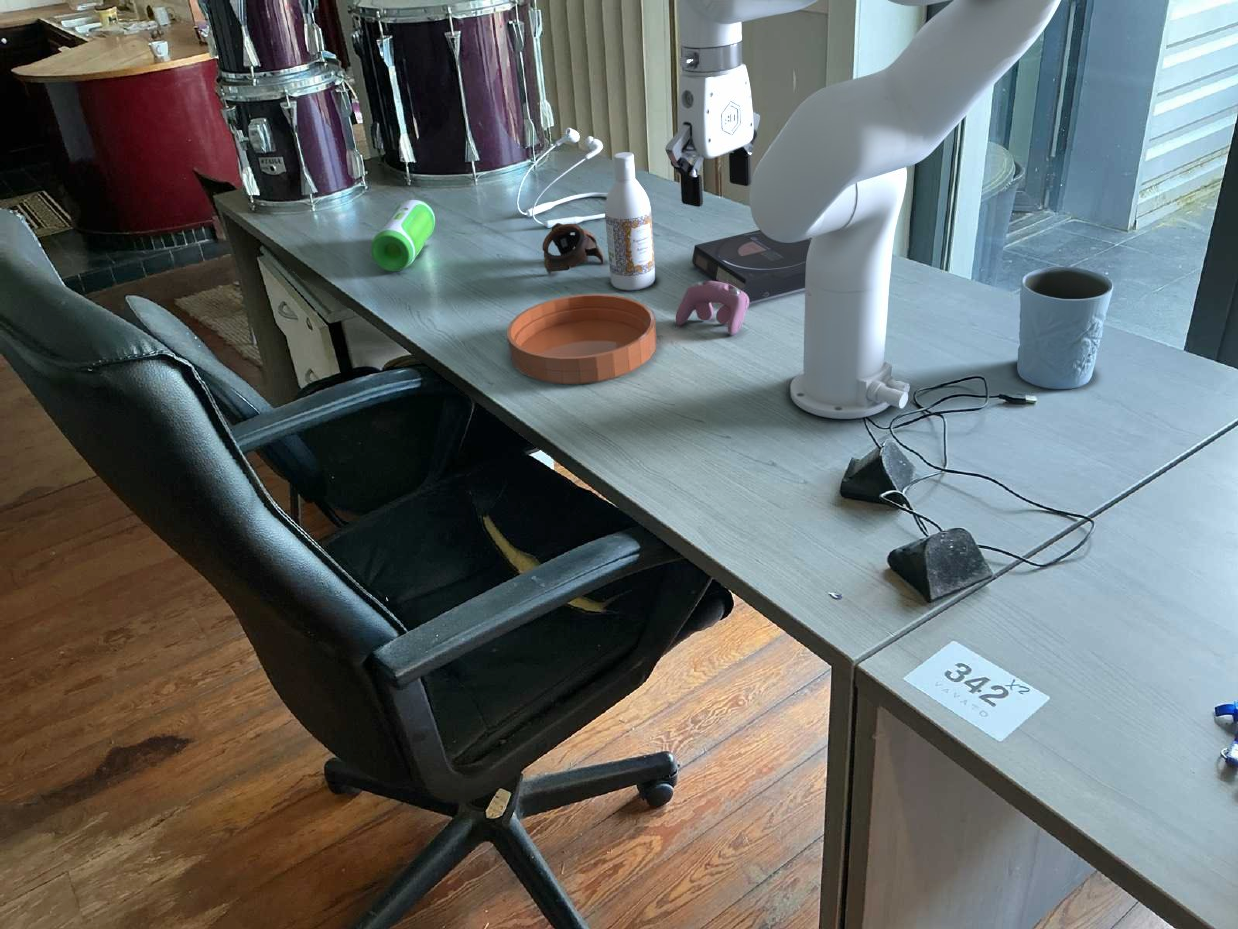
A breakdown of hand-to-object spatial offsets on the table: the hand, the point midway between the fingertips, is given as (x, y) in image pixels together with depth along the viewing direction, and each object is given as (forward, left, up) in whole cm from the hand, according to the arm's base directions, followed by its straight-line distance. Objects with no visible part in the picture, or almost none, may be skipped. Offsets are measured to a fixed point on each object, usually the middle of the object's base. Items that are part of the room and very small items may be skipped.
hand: (716, 194), depth 137 cm
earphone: (+53, -20, -19) cm, 60 cm away
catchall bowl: (+10, +18, -19) cm, 28 cm away
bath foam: (+21, -3, -19) cm, 28 cm away
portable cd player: (+6, -17, -19) cm, 26 cm away
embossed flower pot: (-42, -13, -19) cm, 48 cm away
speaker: (+62, +11, -19) cm, 66 cm away
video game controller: (+1, +1, -19) cm, 19 cm away
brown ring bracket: (+34, -3, -19) cm, 39 cm away
